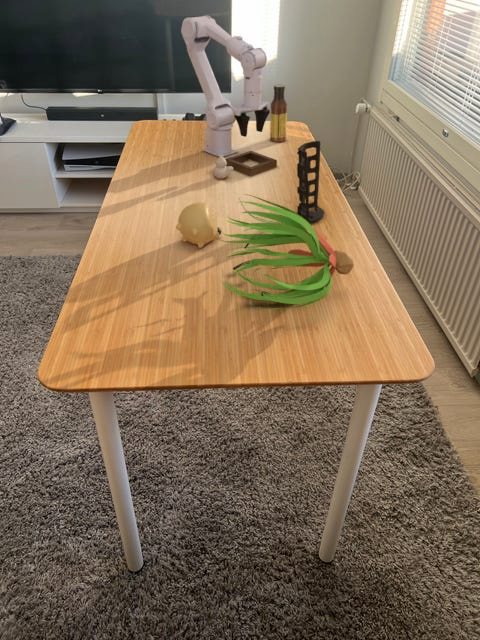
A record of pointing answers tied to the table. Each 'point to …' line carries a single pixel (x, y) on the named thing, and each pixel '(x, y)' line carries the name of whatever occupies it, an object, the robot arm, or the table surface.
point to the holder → (308, 182)
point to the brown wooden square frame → (264, 165)
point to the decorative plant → (289, 256)
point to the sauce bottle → (278, 115)
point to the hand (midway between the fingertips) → (251, 133)
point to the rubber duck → (222, 168)
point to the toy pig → (198, 224)
